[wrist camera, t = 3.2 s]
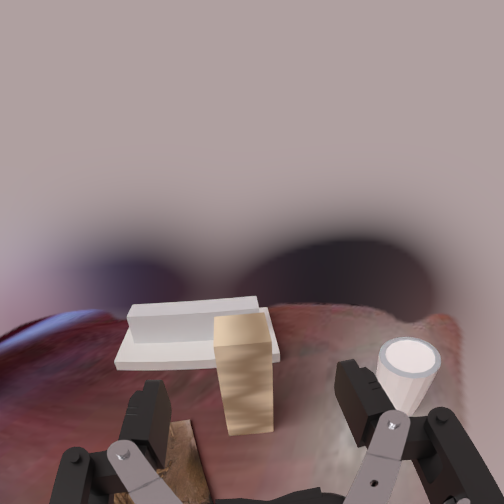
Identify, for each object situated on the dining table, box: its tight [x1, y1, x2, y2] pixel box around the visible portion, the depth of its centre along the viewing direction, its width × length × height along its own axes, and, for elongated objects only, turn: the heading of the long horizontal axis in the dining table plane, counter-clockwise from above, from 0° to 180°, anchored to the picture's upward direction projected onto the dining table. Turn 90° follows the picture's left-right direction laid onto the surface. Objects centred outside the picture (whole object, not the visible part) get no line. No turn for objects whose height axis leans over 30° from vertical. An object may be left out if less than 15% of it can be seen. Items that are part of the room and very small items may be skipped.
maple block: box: [213, 312, 273, 436], centre depth 27 cm, size 4×4×12 cm
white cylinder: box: [376, 337, 441, 417], centre depth 27 cm, size 7×7×7 cm
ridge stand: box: [114, 296, 280, 370], centre depth 41 cm, size 22×12×6 cm, turn 95°
